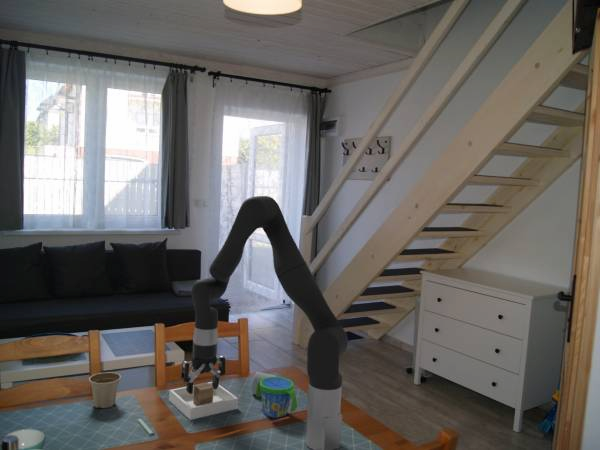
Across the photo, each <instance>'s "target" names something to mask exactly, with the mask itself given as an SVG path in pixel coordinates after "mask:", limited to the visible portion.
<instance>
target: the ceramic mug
mask: <svg viewBox="0 0 600 450" xmlns="http://www.w3.org/2000/svg"><path fill="white" fill-rule="evenodd" d="M268 377H278V376H277V375H274V374H270V373H265V372H261V371H256V372H255V373H254V376H253V379H252V382H251V383H252V384H251V394H252V395H254V396H256V388H257V385H258V383H259V381H261V380H263V379H264V378H268ZM260 397H262V395H261V396H260Z"/></svg>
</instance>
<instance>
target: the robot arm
mask: <svg viewBox="0 0 600 450" xmlns="http://www.w3.org/2000/svg"><path fill="white" fill-rule="evenodd" d="M258 229H262V230H263V232H264V233H265V235H266V238H267V239H268V241H269V243H270V245H271V250H272V258H273V260H272V261H273V269H274V273H275V275H276V277H277V280H278V282H279V284H280V285H281V287H282V289H283V291H284V292H285V294H286V295H287V297H289V299H290V300H291V301H292V302H293V303H294V304H295V305H296V306H297V307H298V308H299V309H301V311H302V312H303V313H304V314H305V315H306V317H307V319H308V320H309V323H310V324H311V327H312V328H313V331H314V332H312V333H311V334H310V336H309V338H308V342H307V354H306V356H307V360H306V372H307V375H308V390H307V407H306V423H305V439H304V440H305V441H304V442H305V446H307V447H308V448H309V449H310V450H336V449H340V448H341V443H342V442H341V440H342V427H343V426H342V425H343V414H342V413H341V403H342V401H341V400H342V389H343V375H342V374H341V372H340V357H341V356H342V355H343V354H344V353H345V352H346V350H347V348H348V346H349V341H348V340H349V339H348V335H347V333H346V330H345V329H344V327H343V326H342V324H341V323H340V322H339V320H338V319H337V317H336V315H335V314H334V312H333V310H331V307H330V306H329V305H328V302H327V301H326V299H325V297H324V294H323V293H322V291H321V289H320V287H319V286H318V283H317V282H316V280H315V278H314V275H313V274H312V272H311V270H310V267H309V265H308V263H307V262H306V261H305V258H304V257H303V255H302V253H301V252H300V249H299V247H298V245H297V243H296V242H295V241H296V240H295V239H294V238H293V236H292V233H291V231H290V230H289V227H288V225H287V222H286V219H285V217H284V215H283V211H282V210H281V208H280V206H279V204H278V202H277V200H275V199H274V198H273V197H271V196H267V195H261V196H260V195H259V196H249V197H248V198H246V199H245V200H244V201H243V202H242V203H241V206H240V208H239V209H238V212H237V215H236V217H235V219H234V222H233V224H232V225H231V228H230V230H229V233H228V235H227V238H226V239H225V241H224V243H223V245H222V247H221V248H220V250H219V252H218V253H217V254H216V256H215V258H214V259H213V261H212V262H211V264H210V266H209V271H208V272H209V274H210V276H211V277H209V278H202V279H198V280H196V281H195V282H194V283H193V284H192V289H191V299H192V305H193V308H194V313H195V319H194V320H195V321H194V331H193V338H192V360H190V361H187V360H183V361H182V365H181V372H180V379H181V380H182V381H183V382H185V383H186V386H185V387H186V390H187V392H188V393H189V394H193V385H194V380H195V379H196V378H197V377H198V376H200V375H203V374H204V373H206V374H207V373H210V372H211V373H212V381H211V382H212V387H213V388H214V389H217V387H218V386H219V385H220V377H221V376H224V375H225V374H226V357H225V356H223V355H222V354H219V355H218V356H217V353H218V338H219V331H218V326H219V325H218V321H219V312H218V310H217V308H215V307H211V304H210V301H215V300H218V299H220V298H221V297H222V296H223V295H224V294H225V293H226V291H227V288H228V284H229V283H230V279H231V276H232V275H233V273H234V272H235V270H236V269H237V268H238V266H239V265H240V263H241V260H242V258H243V254H244V251H245V246H246V244H247V241H248V240H249V238H250V237H251V236H252V235H253V234H254V232H255V231H256V230H258ZM217 363H218V369H217V368H216V367H215V365H216V364H217ZM191 367H192V368H191Z"/></svg>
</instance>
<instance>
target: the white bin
mask: <svg viewBox="0 0 600 450" xmlns="http://www.w3.org/2000/svg"><path fill="white" fill-rule="evenodd" d="M207 383H208V384H210V385H211V386H212V381H209V382H207ZM194 385H195V384H193V394H189V393H188V392H187V390H186V386H183V387H178V388H173V389H169V392H168V393H169V396H168V397H169V398H168V401H169V402H170V403H171V404H173V406H174V407H176V409H178V411H180V412H181V413H182V414H183V415H184V416H185V417H186V418H187V419H188V420H189V421H191V420H192V421H193V420H196V419H201V418H205V417H210V416H215V415H218V414H222V413H225V412H229V411H235V410H238V401H239V399H238V398H239V397H237V396H236V395H235V394H233V393H231V391H228V390H227V389H226V388H224V387H223V386H221V384H219V386H218V387H217V389H214V388H213V403H209V404H204V405H200V406H196V405H195V404H194V403H193V399H194Z"/></svg>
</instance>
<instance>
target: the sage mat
mask: <svg viewBox="0 0 600 450" xmlns="http://www.w3.org/2000/svg"><path fill="white" fill-rule="evenodd" d="M137 422H138V424H139V425H141V427H142V428H143V429H144V431H145V432H146V433H147V434H148V435H149V436H154V435H155V433H154V432H153V430H152V429H151V428H150V427H149V426H148V425H147V423H146V422H144V420H143V419H142V418H137Z"/></svg>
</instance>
